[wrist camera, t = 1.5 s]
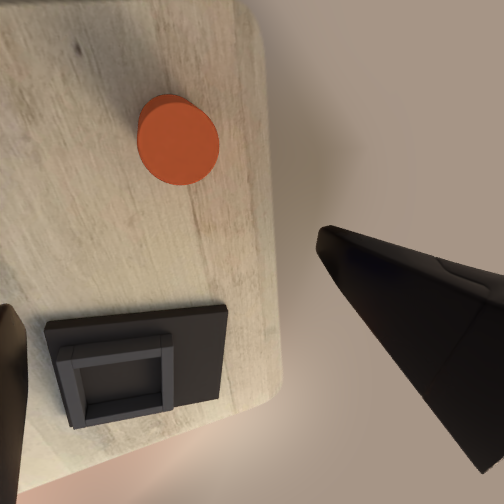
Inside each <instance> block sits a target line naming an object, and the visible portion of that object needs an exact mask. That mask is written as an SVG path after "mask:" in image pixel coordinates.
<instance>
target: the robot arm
mask: <svg viewBox="0 0 504 504" xmlns="http://www.w3.org/2000/svg"><path fill="white" fill-rule="evenodd" d="M316 252H317V254H318V256H319V258H320V259H321V261H322V262H323V264H324V266H325V267H326V269H327V271H328V272H329V274H330V276H331V277H332V279H333V281H334V282H335V284H336V285H337V286H338V288H339V289H340V291H341V292H342V293H343V295H344V296H345V297H346V299H347V300H348V301H349V303H350V304H351V305H352V306H353V308H354V309H355V310H356V312H357V313H358V314H359V316H360V317H361V318H362V320H363V321H364V322H365V323H366V325H367V326H368V327H369V329H370V330H371V331H372V333H373V334H374V335H375V336H376V338H377V339H378V340H379V342H380V343H381V344H382V346H383V347H384V348H385V350H386V351H387V352H388V353H389V355H391V357H392V359H393V360H394V361H395V363H396V364H397V365H398V366H399V368H400V369H401V370H402V372H403V373H404V374H405V375H406V377H407V378H408V379H409V381H410V382H411V383H412V385H413V386H414V387H415V389H416V390H417V391H418V393H419V394H420V395H421V396H422V398H423V399H424V401H425V402H426V403H427V404H428V406H429V407H430V408H431V410H432V411H433V412H434V414H435V415H436V416H437V418H438V419H439V420H440V421H441V423H442V424H443V425H444V427H445V428H446V429H447V430H448V432H449V433H450V434H451V435H452V437H453V438H454V440H455V441H456V442H457V443H458V445H459V446H460V448H461V449H462V450H463V451H464V453H465V454H466V455H467V457H468V458H469V459H470V461H471V462H472V463H473V464H474V466H475V467H476V468H477V469H478V470H479V471H480V472H481V474H484V473H486V472H487V471H488V470H489V469H491V468H492V467H493V466H495V465H496V464H497V463H499V462H500V461H501V460H503V459H504V275H500V274H496V273H492V272H488V271H484V270H481V269H476V268H473V267H469V266H465V265H462V264H459V263H454V262H451V261H448V260H445V259H441V258H438V257H434V256H432V255H428V254H425V253H421V252H418V251H415V250H412V249H408V248H405V247H402V246H399V245H395V244H392V243H388V242H385V241H382V240H378V239H375V238H372V237H369V236H365V235H362V234H359V233H355V232H352V231H349V230H346V229H342V228H339V227H336V226H332V225H329V226H325V227H322V228H320V230H319V232H318V238H317V243H316ZM27 398H28V363H27V335H26V329H25V326H24V324H23V323H22V321H21V320H20V318H19V316H18V315H17V313H16V311H15V310H14V308H13V307H12V306H11V305H10V304H2V305H0V504H16V499H17V490H18V481H19V472H20V463H21V453H22V444H23V435H24V426H25V417H26V407H27Z"/></svg>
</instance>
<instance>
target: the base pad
mask: <svg viewBox="0 0 504 504" xmlns="http://www.w3.org/2000/svg"><path fill="white" fill-rule="evenodd" d="M227 318H228V309H227V307H226V305H216V306H206V307H196V308H185V309H175V310H164V311H154V312H143V313H133V314H122V315H112V316H102V317H91V318H81V319H70V320H60V321H49V322H47V323H46V326H45V328H44V334H45V337H46V341H47V345H48V348H49V352H50V356H51V359H52V363H53V367H54V370H55V374H56V378H57V382H58V385H59V389H60V393H61V396H62V400H63V404H64V407H65V411H66V415H67V418H68V422H69V426H70V427H73V429H74V430H75V429H80V428H85V427H86V426H87V427H89V426H95V425H100V424H105V423H110V422H115V421H120V420H125V419H130V418H135V417H141V416H146V415H151V414H156V413H161V412H166V411H171V410H173V409H174V407H178V406H183V405H188V404H193V403H199V402H204V401H209V400H214V399H218V398H219V391H220V382H221V373H222V364H223V354H224V345H225V336H226V327H227Z"/></svg>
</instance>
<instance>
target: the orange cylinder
mask: <svg viewBox="0 0 504 504" xmlns="http://www.w3.org/2000/svg"><path fill="white" fill-rule="evenodd" d="M137 147H138V152H139V155H140V158H141V160H142V162H143V164H144V165H145V167H146V168H147V169H148V170H149V172H150V173H151V174H153V175H154V176H155V177H156V178H158V179H160V180H161V181H164V182H166V183H169V184H173V185H188V184H192V183H195V182H197V181H199V180H201V179H203V178H204V177H205V176H206V175H207V174H208V173H209V172H210V171H211V170H212V168H213V167H214V165H215V163H216V161H217V158H218V154H219V138H218V134H217V131H216V128H215V126H214V124H213V123H212V121H211V120H210V118H209V117H208V116H207V115H206V114H205V113H204V112H203V111H201V110H200V109H199V108H197V107H196V106H194V105H193V104H192V103H190V102H189V101H187V100H186V99H184V98H182V97H180V96H177V95H169V94H167V95H160V96H157V97H155V98H153V99H152V100H150V101H149V102H148V103H147V104H146V105H145V106H144V108H143V109H142V111H141V113H140V117H139V122H138V133H137Z"/></svg>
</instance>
